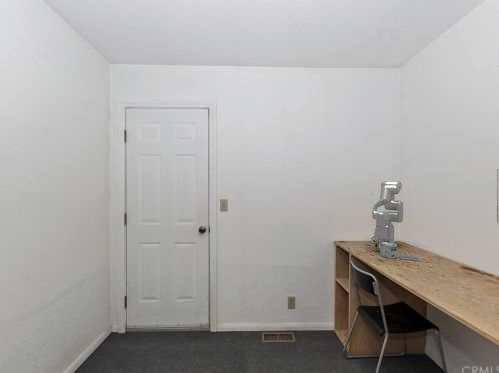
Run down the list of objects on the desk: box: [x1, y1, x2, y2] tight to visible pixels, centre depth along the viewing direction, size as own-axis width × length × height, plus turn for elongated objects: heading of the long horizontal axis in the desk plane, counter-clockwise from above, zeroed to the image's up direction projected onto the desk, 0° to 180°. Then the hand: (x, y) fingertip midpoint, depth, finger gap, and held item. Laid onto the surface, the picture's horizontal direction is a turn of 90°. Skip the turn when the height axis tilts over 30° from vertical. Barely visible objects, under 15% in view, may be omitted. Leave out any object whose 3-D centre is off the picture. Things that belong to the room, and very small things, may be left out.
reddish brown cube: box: [376, 240, 382, 250], centre depth 232 cm, size 6×6×6 cm
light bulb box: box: [379, 241, 398, 260], centre depth 217 cm, size 11×7×11 cm, turn 22°
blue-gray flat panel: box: [399, 254, 419, 262], centre depth 213 cm, size 12×12×1 cm
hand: (380, 248), depth 232 cm, fingers closed on reddish brown cube, 5 cm apart
